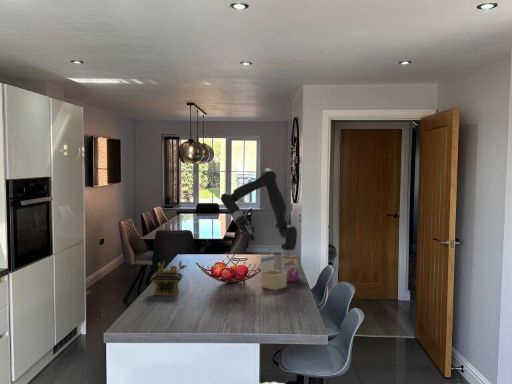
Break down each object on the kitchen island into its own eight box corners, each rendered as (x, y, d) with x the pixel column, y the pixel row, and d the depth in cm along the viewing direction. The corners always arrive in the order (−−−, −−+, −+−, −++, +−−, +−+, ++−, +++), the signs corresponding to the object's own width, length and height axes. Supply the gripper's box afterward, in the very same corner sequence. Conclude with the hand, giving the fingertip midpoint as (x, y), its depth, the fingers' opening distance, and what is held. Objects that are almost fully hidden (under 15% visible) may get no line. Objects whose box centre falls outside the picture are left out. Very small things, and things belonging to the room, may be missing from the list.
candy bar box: (280, 281, 302) (281, 256, 301) (281, 279, 307) (281, 254, 306) (298, 282, 301) (298, 256, 300) (298, 280, 306) (299, 255, 305)
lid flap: (273, 269, 295) (273, 269, 295) (273, 254, 294) (272, 253, 295) (261, 272, 286) (260, 272, 286) (261, 256, 285) (260, 256, 286)
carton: (273, 284, 295) (274, 269, 295) (286, 286, 289) (286, 272, 288) (261, 287, 286) (261, 272, 285) (274, 290, 279) (274, 275, 279)
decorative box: (150, 295, 263) (150, 260, 262) (153, 291, 273) (154, 257, 272) (186, 296, 263) (186, 261, 262) (188, 291, 273) (188, 258, 272)
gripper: (235, 215, 297) (250, 237, 290) (249, 214, 307) (263, 235, 300) (229, 223, 301) (243, 244, 294) (243, 221, 311) (257, 242, 304)
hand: (253, 239), depth 297 cm, fingers closed
